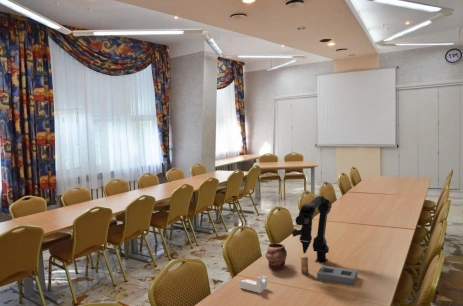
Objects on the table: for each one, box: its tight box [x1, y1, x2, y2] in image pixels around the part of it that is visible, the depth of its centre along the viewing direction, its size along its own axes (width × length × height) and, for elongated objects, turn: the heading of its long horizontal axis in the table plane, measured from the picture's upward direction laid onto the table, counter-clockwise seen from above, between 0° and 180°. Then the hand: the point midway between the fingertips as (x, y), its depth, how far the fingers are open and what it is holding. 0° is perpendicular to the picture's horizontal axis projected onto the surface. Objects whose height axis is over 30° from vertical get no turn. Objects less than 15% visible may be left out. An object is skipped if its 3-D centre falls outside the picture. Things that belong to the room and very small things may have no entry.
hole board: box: [316, 265, 358, 287], centre depth 200 cm, size 12×20×4 cm, turn 61°
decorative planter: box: [265, 242, 288, 271], centre depth 222 cm, size 20×12×14 cm, turn 150°
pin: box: [300, 255, 309, 276], centre depth 209 cm, size 4×4×10 cm
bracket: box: [239, 275, 268, 294], centre depth 194 cm, size 13×7×8 cm, turn 55°
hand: (304, 252), depth 208 cm, fingers open, 9 cm apart
